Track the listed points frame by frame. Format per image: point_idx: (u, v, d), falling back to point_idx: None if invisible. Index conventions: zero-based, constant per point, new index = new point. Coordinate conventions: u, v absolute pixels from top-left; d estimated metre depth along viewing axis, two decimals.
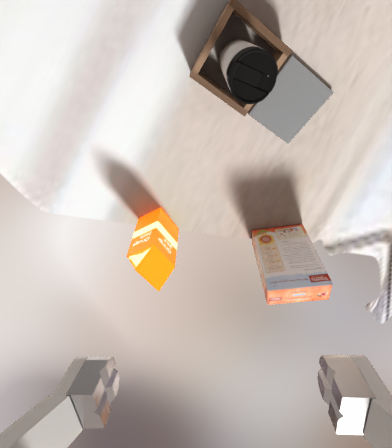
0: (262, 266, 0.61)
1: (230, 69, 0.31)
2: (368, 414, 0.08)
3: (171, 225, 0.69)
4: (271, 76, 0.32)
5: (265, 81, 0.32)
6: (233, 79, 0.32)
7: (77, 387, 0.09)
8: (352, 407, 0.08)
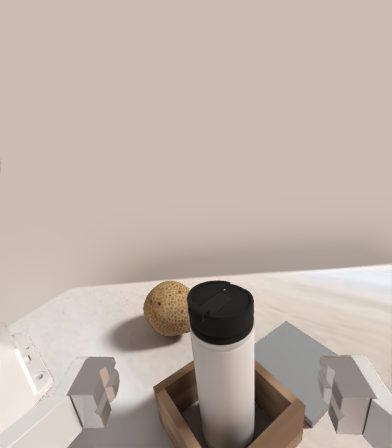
0: None
1: (197, 310, 0.21)
2: (367, 414, 0.08)
3: None
4: (226, 286, 0.26)
5: (229, 292, 0.25)
6: None
7: (77, 388, 0.09)
8: (352, 407, 0.08)
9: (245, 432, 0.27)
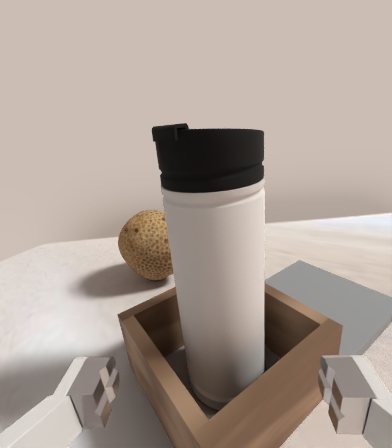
0: None
1: (166, 125, 0.12)
2: (368, 414, 0.08)
3: None
4: None
5: None
6: None
7: (77, 387, 0.09)
8: (352, 407, 0.08)
9: (252, 368, 0.18)
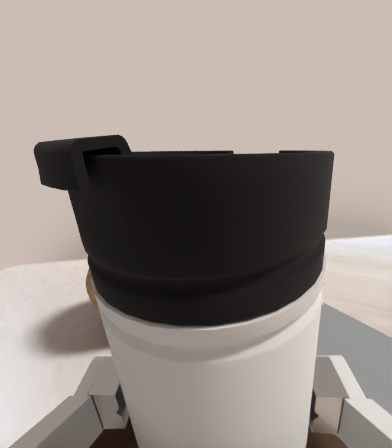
0: None
1: (60, 140, 0.04)
2: (342, 414, 0.08)
3: None
4: None
5: None
6: None
7: (98, 388, 0.09)
8: (326, 407, 0.08)
9: None
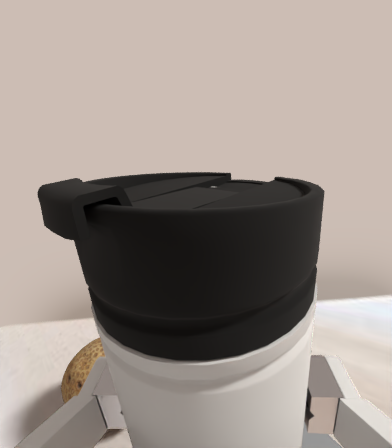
0: None
1: (63, 190, 0.04)
2: (337, 414, 0.08)
3: None
4: (219, 181, 0.09)
5: (229, 190, 0.08)
6: None
7: (103, 388, 0.09)
8: (322, 407, 0.08)
9: None
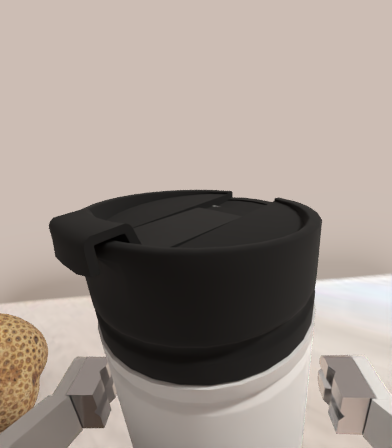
0: None
1: (74, 227, 0.05)
2: (368, 414, 0.08)
3: None
4: (221, 200, 0.09)
5: (230, 210, 0.08)
6: None
7: (77, 387, 0.09)
8: (352, 407, 0.08)
9: None
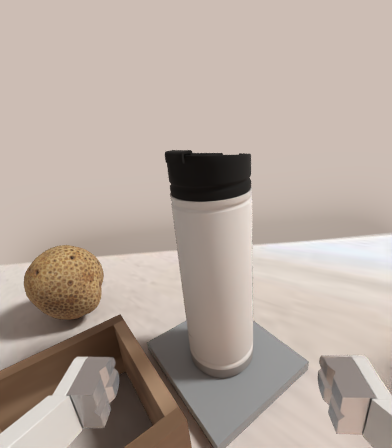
0: None
1: (176, 151, 0.16)
2: (368, 414, 0.08)
3: None
4: None
5: None
6: None
7: (77, 387, 0.09)
8: (352, 407, 0.08)
9: (241, 341, 0.22)
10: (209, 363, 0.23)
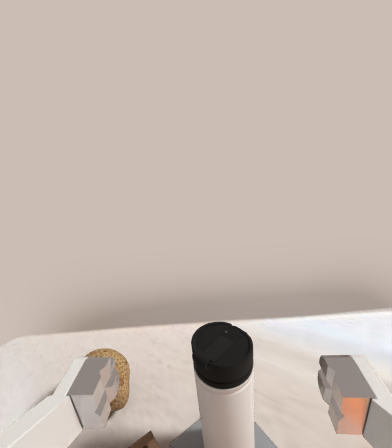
0: None
1: (200, 358, 0.23)
2: (367, 414, 0.08)
3: None
4: (228, 328, 0.28)
5: (231, 335, 0.27)
6: (215, 364, 0.24)
7: (77, 388, 0.09)
8: (352, 407, 0.08)
9: None
10: None
